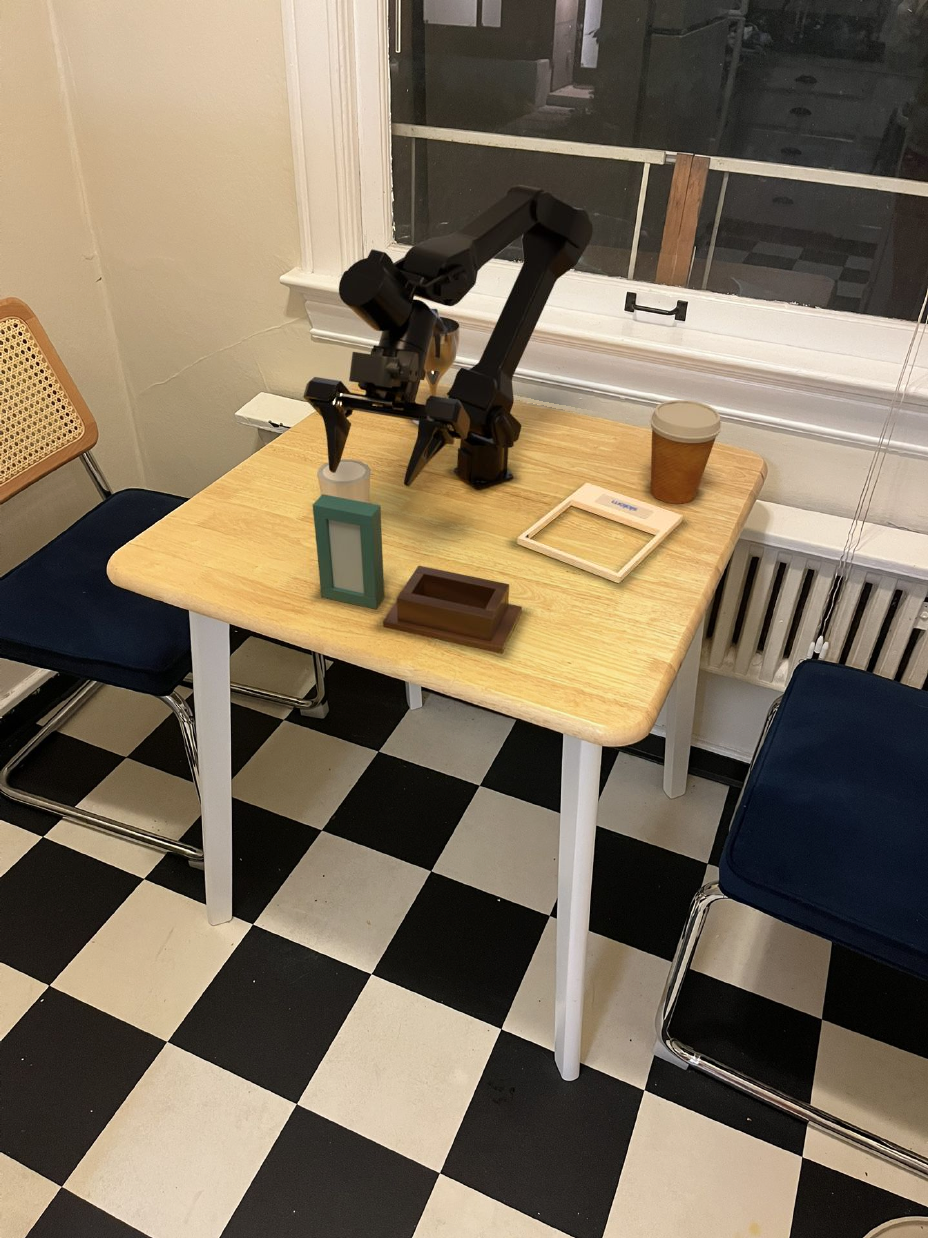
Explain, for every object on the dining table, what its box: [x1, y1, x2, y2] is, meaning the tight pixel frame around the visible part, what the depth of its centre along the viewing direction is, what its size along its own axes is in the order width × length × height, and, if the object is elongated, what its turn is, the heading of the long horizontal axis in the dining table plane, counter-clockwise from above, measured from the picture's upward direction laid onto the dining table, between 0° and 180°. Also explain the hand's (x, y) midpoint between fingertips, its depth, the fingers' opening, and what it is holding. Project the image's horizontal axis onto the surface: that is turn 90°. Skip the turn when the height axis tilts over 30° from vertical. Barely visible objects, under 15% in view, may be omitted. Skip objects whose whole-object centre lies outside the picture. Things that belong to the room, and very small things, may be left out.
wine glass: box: [411, 316, 460, 426], centre depth 141 cm, size 8×8×15 cm
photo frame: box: [516, 482, 684, 584], centre depth 118 cm, size 15×1×18 cm
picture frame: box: [312, 494, 385, 610], centre depth 103 cm, size 2×7×12 cm, turn 72°
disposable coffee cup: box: [649, 399, 723, 504], centre depth 124 cm, size 10×10×12 cm
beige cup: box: [316, 458, 372, 503], centre depth 119 cm, size 7×7×7 cm
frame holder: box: [382, 565, 523, 654], centre depth 102 cm, size 8×14×4 cm, turn 72°
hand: (368, 478), depth 104 cm, fingers open, 9 cm apart
